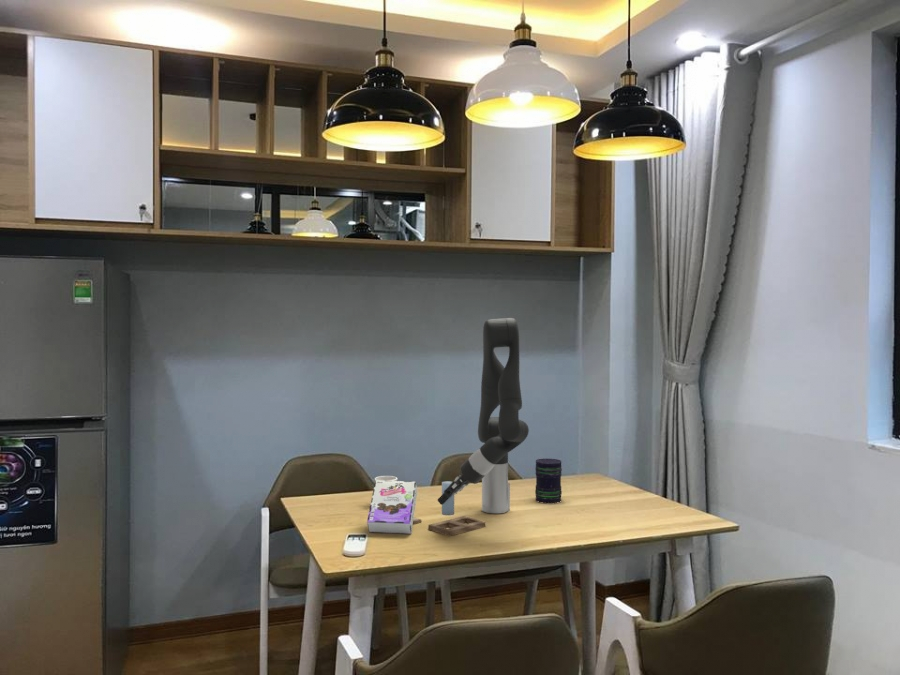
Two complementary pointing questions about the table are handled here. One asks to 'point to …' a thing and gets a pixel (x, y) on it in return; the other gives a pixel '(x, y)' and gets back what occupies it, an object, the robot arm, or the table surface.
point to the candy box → (392, 507)
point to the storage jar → (548, 480)
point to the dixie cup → (386, 478)
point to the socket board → (456, 525)
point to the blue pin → (449, 504)
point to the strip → (416, 520)
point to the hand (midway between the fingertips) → (442, 500)
